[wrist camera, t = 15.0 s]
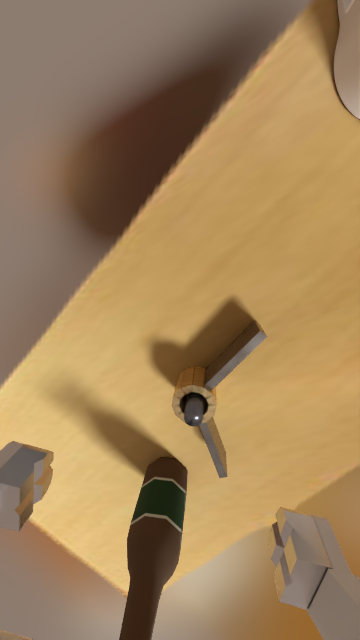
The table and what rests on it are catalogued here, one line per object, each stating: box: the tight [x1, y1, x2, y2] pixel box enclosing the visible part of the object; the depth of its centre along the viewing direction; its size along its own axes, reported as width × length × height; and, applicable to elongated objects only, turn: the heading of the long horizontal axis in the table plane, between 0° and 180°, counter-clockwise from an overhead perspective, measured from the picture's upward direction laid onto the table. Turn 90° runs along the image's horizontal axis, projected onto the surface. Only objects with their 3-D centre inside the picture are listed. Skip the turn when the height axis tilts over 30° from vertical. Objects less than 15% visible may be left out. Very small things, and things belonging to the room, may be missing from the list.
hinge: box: [172, 321, 267, 478], centre depth 39 cm, size 21×15×6 cm
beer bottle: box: [119, 457, 187, 640], centre depth 36 cm, size 8×8×24 cm
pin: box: [184, 392, 204, 426], centre depth 38 cm, size 2×2×9 cm
